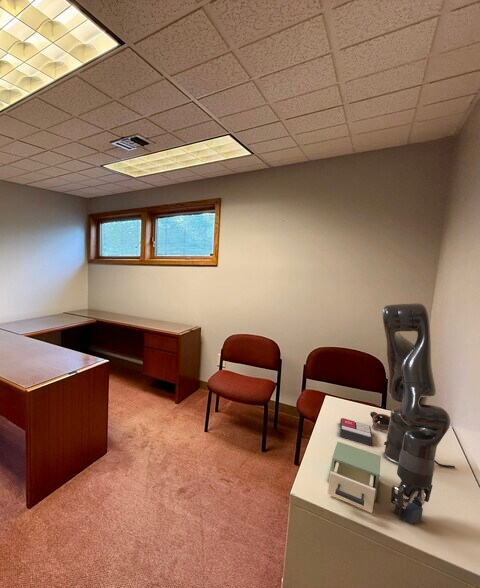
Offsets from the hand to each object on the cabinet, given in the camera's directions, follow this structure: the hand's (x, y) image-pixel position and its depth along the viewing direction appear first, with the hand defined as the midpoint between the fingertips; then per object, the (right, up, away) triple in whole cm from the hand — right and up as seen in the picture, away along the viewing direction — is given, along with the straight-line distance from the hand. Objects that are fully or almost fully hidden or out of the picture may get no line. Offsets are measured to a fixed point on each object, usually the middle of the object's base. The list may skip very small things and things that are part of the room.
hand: (407, 514), depth 100 cm
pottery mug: (+41, +5, +54) cm, 68 cm away
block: (0, -1, 0) cm, 1 cm away
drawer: (-12, +1, +7) cm, 14 cm away
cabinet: (-4, +1, +16) cm, 16 cm away
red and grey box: (+23, +4, +48) cm, 53 cm away
